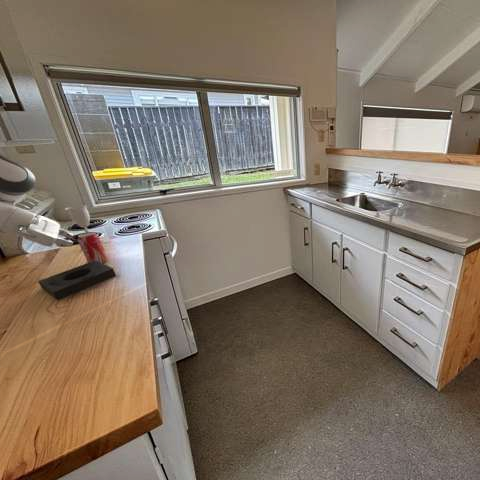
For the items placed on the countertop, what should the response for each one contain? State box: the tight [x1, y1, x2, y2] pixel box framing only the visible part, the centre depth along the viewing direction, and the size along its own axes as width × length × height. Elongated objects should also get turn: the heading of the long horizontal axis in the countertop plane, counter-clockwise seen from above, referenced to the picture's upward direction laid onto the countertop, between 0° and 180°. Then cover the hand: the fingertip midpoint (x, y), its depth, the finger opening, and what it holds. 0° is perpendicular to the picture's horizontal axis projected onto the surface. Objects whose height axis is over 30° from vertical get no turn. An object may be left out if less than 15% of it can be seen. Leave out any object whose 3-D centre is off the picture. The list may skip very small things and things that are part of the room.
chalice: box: [65, 204, 91, 233], centre depth 116 cm, size 7×7×18 cm
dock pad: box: [37, 260, 117, 301], centre depth 88 cm, size 16×14×3 cm
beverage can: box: [77, 231, 109, 264], centre depth 99 cm, size 6×6×12 cm
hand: (72, 240), depth 96 cm, fingers open, 8 cm apart
